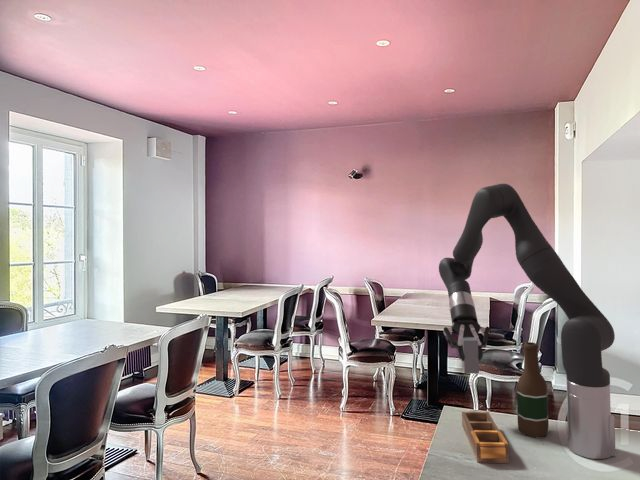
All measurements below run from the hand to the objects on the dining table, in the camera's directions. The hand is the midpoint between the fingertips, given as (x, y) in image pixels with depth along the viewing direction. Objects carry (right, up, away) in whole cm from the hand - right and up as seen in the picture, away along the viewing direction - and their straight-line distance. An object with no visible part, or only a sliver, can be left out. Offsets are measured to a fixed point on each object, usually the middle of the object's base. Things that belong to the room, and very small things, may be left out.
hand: (471, 359), depth 132 cm
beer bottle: (+14, -18, -8) cm, 24 cm away
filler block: (0, -4, +2) cm, 5 cm away
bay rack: (-1, -18, -13) cm, 22 cm away
